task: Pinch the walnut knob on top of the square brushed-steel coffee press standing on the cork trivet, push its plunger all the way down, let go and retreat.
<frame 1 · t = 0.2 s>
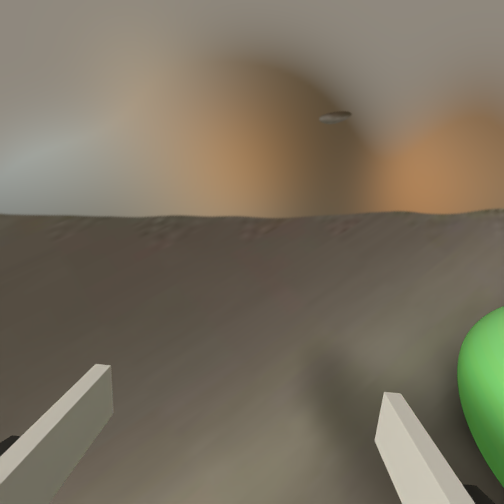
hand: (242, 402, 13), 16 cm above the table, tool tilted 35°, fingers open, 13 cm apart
toy bird: (501, 406, 26), on the table
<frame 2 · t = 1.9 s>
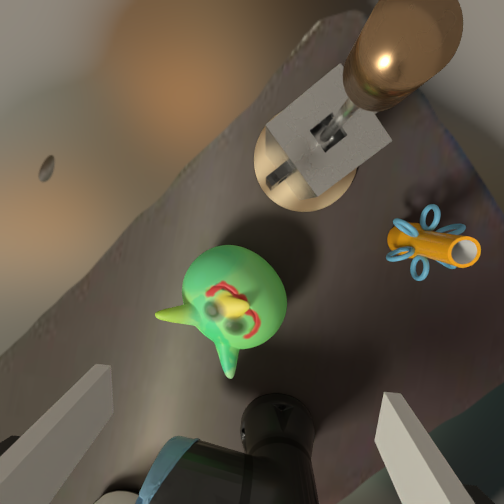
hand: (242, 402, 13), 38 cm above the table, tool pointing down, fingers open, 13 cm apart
toy bird: (237, 286, 51), on the table
trivet: (305, 160, 47), on the table
plunger: (348, 108, 22), point 25 cm above the table, slide at 0.0 cm
cylinder: (402, 238, 48), on the table
press: (305, 159, 46), resting on trivet
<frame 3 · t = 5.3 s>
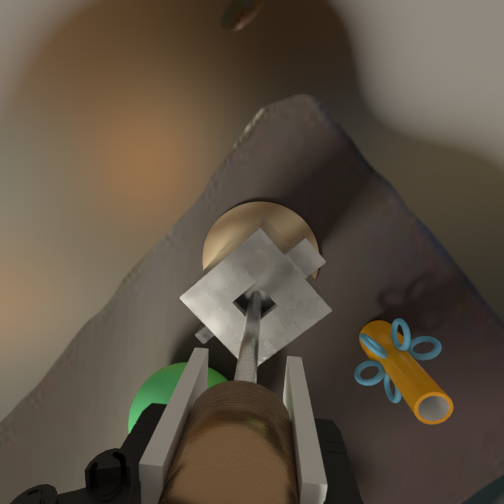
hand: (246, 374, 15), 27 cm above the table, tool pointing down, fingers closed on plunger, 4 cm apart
toy bird: (199, 389, 47), on the table
trivet: (260, 259, 42), on the table
plunger: (249, 348, 17), point 25 cm above the table, slide at 0.0 cm, touching gripper
cylinder: (376, 335, 43), on the table
press: (260, 260, 41), resting on trivet
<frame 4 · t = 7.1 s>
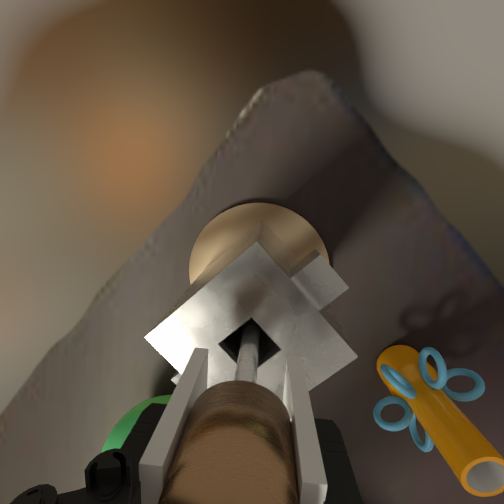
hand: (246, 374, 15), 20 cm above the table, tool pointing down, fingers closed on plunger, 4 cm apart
toy bird: (187, 422, 40), on the table
trivet: (258, 272, 35), on the table
plunger: (249, 348, 17), point 18 cm above the table, slide at 7.1 cm, touching gripper
cylinder: (396, 362, 36), on the table
press: (258, 274, 34), resting on trivet
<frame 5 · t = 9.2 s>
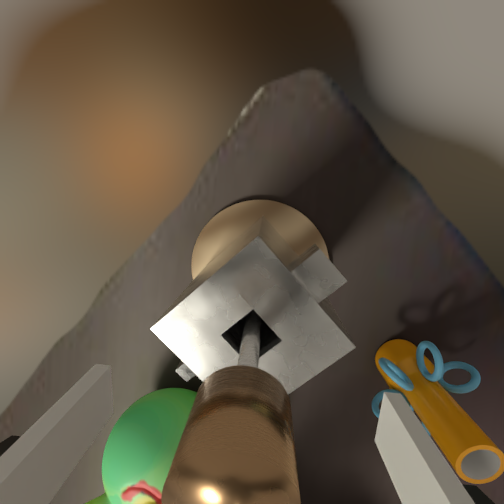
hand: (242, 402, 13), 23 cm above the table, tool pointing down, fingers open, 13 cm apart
toy bird: (190, 415, 41), on the table
trivet: (259, 268, 35), on the table
plunger: (250, 339, 18), point 18 cm above the table, slide at 7.1 cm
cylinder: (395, 356, 37), on the table
press: (259, 269, 34), resting on trivet
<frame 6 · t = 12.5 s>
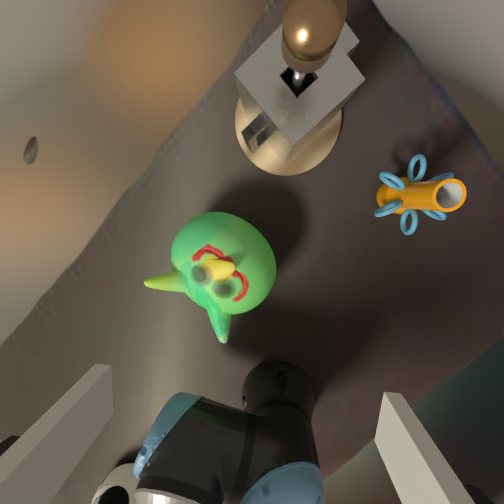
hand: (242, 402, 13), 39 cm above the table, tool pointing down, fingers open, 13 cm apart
toy bird: (228, 256, 51), on the table
trivet: (287, 121, 46), on the table
milk container: (142, 482, 64), on the table
plunger: (299, 75, 28), point 18 cm above the table, slide at 7.1 cm
cylinder: (392, 195, 47), on the table
press: (287, 120, 45), resting on trivet
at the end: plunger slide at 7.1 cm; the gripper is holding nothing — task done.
